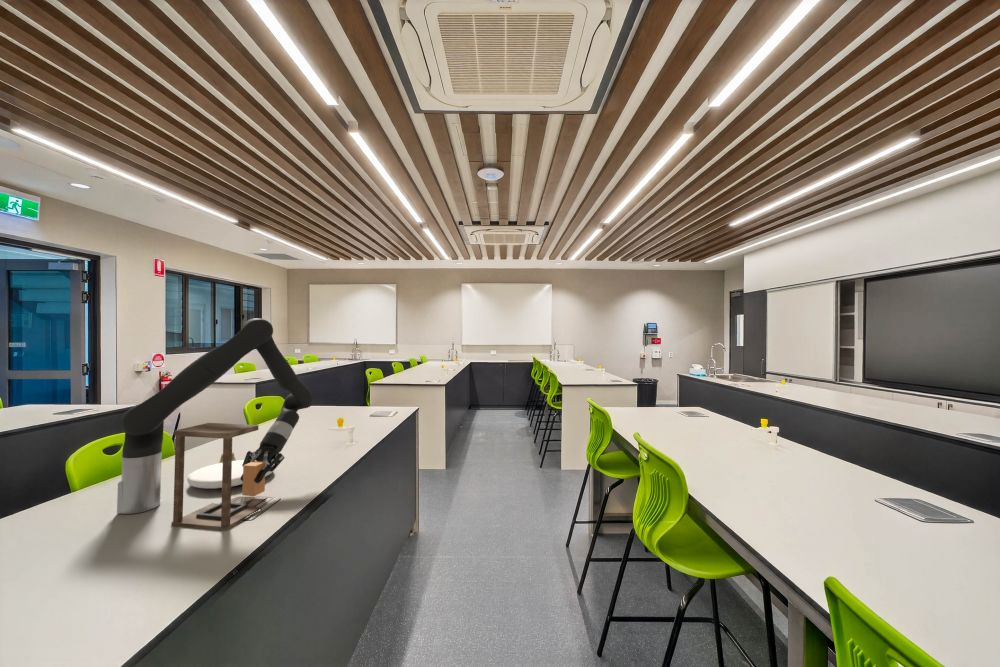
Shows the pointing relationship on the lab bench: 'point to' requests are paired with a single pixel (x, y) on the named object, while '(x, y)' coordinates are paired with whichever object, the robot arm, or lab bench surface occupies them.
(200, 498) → the lab bench surface
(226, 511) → the walnut shelf
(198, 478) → the plate
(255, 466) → the terracotta block
